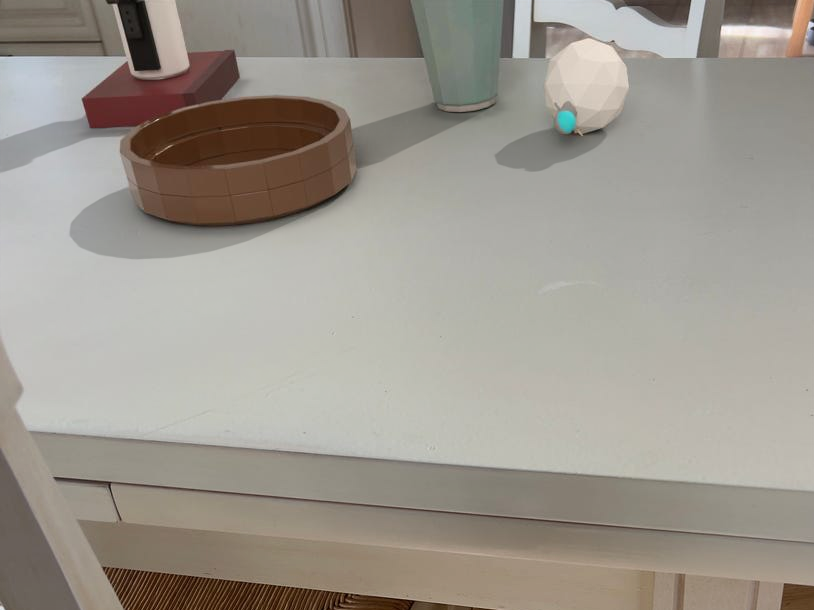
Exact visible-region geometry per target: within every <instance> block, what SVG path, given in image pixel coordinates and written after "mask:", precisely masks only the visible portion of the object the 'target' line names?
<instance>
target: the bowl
mask: <svg viewBox="0 0 814 610" xmlns="http://www.w3.org/2000/svg"><path fill="white" fill-rule="evenodd" d="M351 122H352V121H351V118H350V116H349V114H348V112H347V111H346V109H345V108H344V107H342V106H339V105H338V104H336V103H333V102H331V101H329V100H325V99H320V98H316V97H310V96H302V95H301V96H300V95H282V94H271V95H251V96H250V95H249V96H240V97H239V96H238V97H233V98H225V99H221V100H217V101H211V102H206V103H202V104H197V105H193V106H189V107H184V108H181V109H177V110H174V111H172V112H169V113H166V114H163V115H160V116H157V117H154V118H152V119H150V120H148V121H146V122H144V123H142V124H140V125H138V126H133V128H131V129H130V131H128V132H127V133H126V134H125V136H123V137H122V138H121V139H120V140H119V155H120V158H121V162H122V167H123V169H124V172H125V176H126V180H127V183H128V187H129V190H130V194H131V197H132V200H133V203H134V204H135V205H136V206H137V207H138V208H140V210H141V211H143V213H146V214H148V215H151V216H154V217H157V218H160V219H163V220H166V221H170V222H173V223H178V224H182V225H191V226H204V227H205V226H207V227H209V226H211V227H214V226H215V227H217V226H218V227H219V226H220V227H221V226H235V225H236V226H237V225H245V224H253V223H259V222H266V221H271V220H275V219H279V218H283V217H287V216H291V215H294V214H297V213H300V212H303V211H306V210H308V209H311V208H313V207H315V206H317V205H319V204H322V203H324V202H326V201H327V200H328V199H330V198H332V197H333V196H335V195H336V194H338V193H339V192H340V191H341V190H343V189H344V188H345V187H347V186H348V185H349V184H350V183H352V181H353V179H354V176H355V173H356V172H357V170H358V166H357V159H356V153H355V145H354V137H353V131H352V130H353V129H352V123H351Z"/></svg>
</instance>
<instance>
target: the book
mask: <svg viewBox="0 0 814 610" xmlns="http://www.w3.org/2000/svg"><path fill="white" fill-rule="evenodd" d="M235 51H236V50H235V49H223V50H213V51H195V52H194V51H193V52H187V55H188V60H189V68H188V71H187V72H186V73H184V74H182V75H179V76H176V77H173V78H168V79H162V80H139V79H136V78H135V77H134V76H133V75H132V74H131V72H130V68H129V65H128V61H127V60H126V61H124V62H123V64H121V65H120V66H119V67H118V68H116V69H115V70H114V71H113V72H112V73H111V74H110V75H108V76H107V77H106V78H104V80H102V81H101V82H100V83H99V84H97V85H96V86H94V88H93V89H91V90H90V91H89V92H88V93H86V94H85V95H84V96H83V97H81V102H82V106H83V108H84V112H85V116H86V119H87V123H88V125H89V129H101V128H117V127H118V128H119V127H120V128H121V127H136V126H138V125H140V124H142V123H144V122H146V121H148V120H150V119H152V118H154V117H157V116H160V115H163V114H166V113H169V112H172V111H174V110H177V109H181V108H184V107H189V106H193V105H197V104H202V103H206V102H211V101H217V100H223V98H224V97H225V96H226V95H227V93H228V92H230V90H231V89H232V88H233V87H234V85H235V84H236V83H237V82H238V81H239V79H240V78H241V76H240V70H239V66H238V60H237V56H236V52H235Z"/></svg>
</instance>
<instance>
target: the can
mask: <svg viewBox="0 0 814 610" xmlns="http://www.w3.org/2000/svg"><path fill="white" fill-rule="evenodd" d="M140 1H143V0H140ZM144 1H145V5H146V9H147V13H148V17H149V21H150V25H151V29H152V33H153V37H154V41H155V45H156V49H157V53H158V57H159V61H160V65H161V68H160V69H159V70H147V71H135V70H134V67H133V63H132V59H131V55H130V52H129V48H128V44H127V40H126V36H125V33H124V29H123V25H122V21H121V17H120V14H119V10H118V6H117V4H111V5H112V8H113V12H114V16H115V21H116V24H117V28H118V31H119V34H120V38H121V42H122V46H123V49H124V54H125V57H126V61H128V65H129V68H130V72H131V74H132V75H133V76H134V77H135V78H136V79H139V80H162V79H168V78H173V77H176V76H179V75H182V74H184V73H186V72H187V71H188V68H189V60H188V55H187V53H188V52H187V47H186V42H185V37H184V33H183V29H182V25H181V20H180V15H179V12H178V6H177V1H176V0H144Z"/></svg>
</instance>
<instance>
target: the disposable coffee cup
mask: <svg viewBox="0 0 814 610" xmlns="http://www.w3.org/2000/svg"><path fill="white" fill-rule="evenodd" d="M504 2H505V0H410V4H411V9H412V13H413V17H414V22H415V26H416V29H417V34H418V38H419V41H420V47H421V50H422V53H423V59H424V63H425V67H426V71H427V77H428V80H429V84H430V89H431V92H432V96H433V101H434V102H436V105H437V109H439V110H442V111H444V112H452V113H464V112H465V113H466V112H473V111H475V112H476V111H479V110H482V109H483V110H484V109H485V108H489V107H491V106H492V105H493V104H495V103H496V97H497V95H499V82H500V81H499V79H500V65H501V48H502V35H503V34H502V33H503V18H504V16H503V15H504V4H505V3H504Z"/></svg>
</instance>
